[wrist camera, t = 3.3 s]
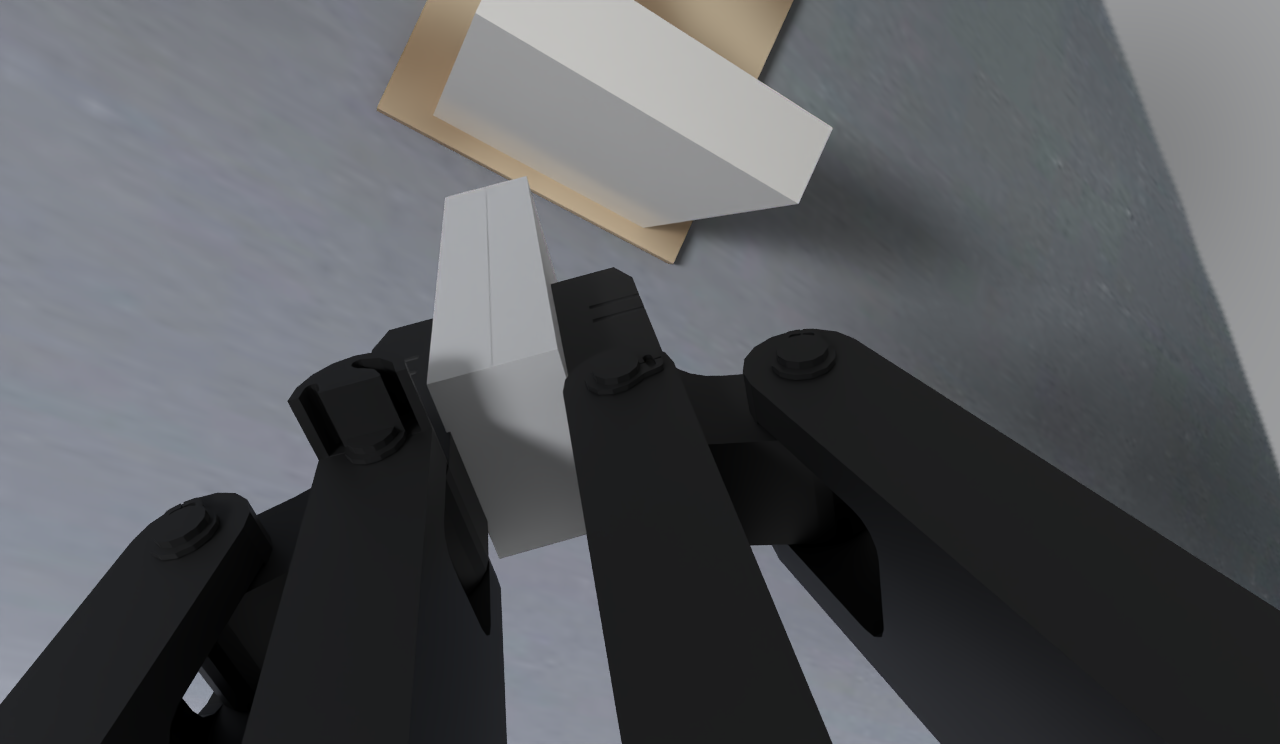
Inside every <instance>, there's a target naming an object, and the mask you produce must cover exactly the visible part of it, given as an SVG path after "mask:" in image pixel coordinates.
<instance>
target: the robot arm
mask: <svg viewBox="0 0 1280 744" xmlns="http://www.w3.org/2000/svg"><path fill="white" fill-rule="evenodd" d="M288 403H289V405H290V407H291V409H292V411H293V413H294V414H295V416H296V418H297V420H298V422H299V424H300V426H301V428H302V429H303V431H304V433H305V435H306V437H307V439H308V441H309V443H310V444H311V446H312V448H313V450H314V452H315V454H316V456H317V458H318V459H319V462H318V465H317V469H316V473H315V476H314V480H313V484H312V487H311V488H310V489H309V490H307V491H305V492H303V493H301V494H299V495H298V496H296V497H294V498H292V499H290V500H288V501H285V502H283V503H281V504H279V505H277V506H275V507H273V508H271V509H269V510H267V511H264V512H262V513H260V514H258V515H256V513H255V512H254V510H253V508H252V507H251V505H250V504H249V502H248V500H247V499H245V498H243V497H242V496H240V495H238V494H236V493H215V494H211V495H207V496H203V497H199V498H194V499H191V500H188V501H185V502H184V504H182V505H181V504H179V505H177V506H175V507H173V508H171V509H169V510H168V511H167V512H166V513H165V514H164V515H162V516H161V517H159V518H158V519H156V520H155V521H153V522H152V523H150V524H149V525H148V526H147V527H146V528H145V529H144V530H143V531H142V532H141V533H140V534H139V535H138V536H137V537H136V538H135V539H134V540H133V541H132V542H131V543H130V544H129V546H128V547H127V548H126V549H125V551H124V552H123V553H122V554H121V555H120V557H119V558H118V559H117V560H116V562H115V563H114V564H113V565H112V567H111V568H110V569H109V570H108V572H107V573H106V574H105V575H104V577H103V578H102V579H101V580H100V581H99V583H98V584H97V585H96V586H95V588H94V589H93V590H92V591H91V593H90V594H89V595H88V596H87V598H86V599H85V600H84V601H83V603H82V604H81V605H80V606H79V608H78V609H77V610H76V611H75V612H74V614H73V615H72V616H71V617H70V619H69V620H68V621H67V622H66V624H65V625H64V626H63V627H62V629H61V630H60V631H59V632H58V634H57V635H56V636H55V637H54V638H53V640H52V641H51V642H50V643H49V645H48V646H47V647H46V648H45V650H44V651H43V652H42V653H41V655H40V656H39V657H38V658H37V660H36V661H35V662H34V663H33V665H32V666H31V667H30V668H29V669H28V671H27V672H26V673H25V674H24V676H23V677H22V678H21V679H20V681H19V682H18V683H17V684H16V686H15V687H14V688H13V689H12V691H11V692H10V693H9V694H8V696H7V697H6V698H5V699H4V700H3V702H2V703H1V704H0V744H507V733H506V708H505V682H504V657H503V632H502V607H501V587H500V584H499V581H498V578H497V575H496V573H495V571H494V568H493V566H492V564H491V561H490V559H489V557H488V533H489V535H490V537H491V540H492V542H493V545H494V547H495V549H496V552H497V554H498V556H499V559H500V558H504V557H508V556H511V555H515V554H518V553H522V552H525V551H529V550H532V549H536V548H540V547H543V546H547V545H550V544H554V543H557V542H561V541H564V540H568V539H571V538H575V537H579V536H582V535H586V534H587V540H588V546H589V552H590V557H591V563H592V569H593V575H594V581H595V587H596V593H597V599H598V605H599V611H600V617H601V623H602V629H603V635H604V640H605V646H606V652H607V658H608V664H609V670H610V676H611V682H612V688H613V694H614V700H615V706H616V712H617V718H618V723H619V729H620V735H621V741H622V744H832V741H831V739H830V737H829V734H828V732H827V729H826V727H825V725H824V722H823V720H822V717H821V715H820V713H819V710H818V708H817V705H816V703H815V701H814V698H813V696H812V693H811V691H810V689H809V686H808V684H807V681H806V679H805V677H804V674H803V672H802V669H801V667H800V665H799V662H798V660H797V657H796V655H795V653H794V650H793V648H792V645H791V643H790V641H789V638H788V636H787V633H786V631H785V629H784V626H783V624H782V621H781V619H780V617H779V614H778V612H777V609H776V607H775V605H774V602H773V600H772V597H771V595H770V592H769V590H768V588H767V585H766V583H765V580H764V578H763V576H762V573H761V571H760V568H759V566H758V564H757V561H756V559H755V556H754V554H753V552H752V549H751V547H750V545H772V546H773V548H774V550H775V552H776V554H777V556H778V558H779V559H780V561H781V562H782V563H783V564H784V565H785V566H786V567H787V569H788V570H789V571H790V572H791V573H792V574H793V575H794V577H795V578H796V579H797V580H798V581H799V582H800V583H801V585H802V586H803V587H804V588H805V589H806V590H807V591H808V593H809V594H810V595H811V596H812V597H813V598H814V599H815V601H816V602H817V603H818V604H819V605H820V606H821V607H822V609H823V610H824V611H825V612H826V613H827V614H828V615H829V617H830V618H831V619H832V620H833V621H834V622H835V623H836V625H837V626H838V627H839V628H840V629H841V630H842V631H843V633H844V634H845V635H846V636H847V637H848V638H849V640H850V641H851V642H852V643H853V644H854V645H855V646H856V648H857V649H858V650H859V651H860V652H861V653H862V654H863V656H864V657H865V658H866V659H867V660H868V661H869V662H870V664H871V665H872V666H873V667H874V668H875V669H876V670H877V672H878V673H879V674H880V675H881V676H882V677H883V678H884V680H885V681H886V682H887V683H888V684H889V685H890V686H891V688H892V689H893V690H894V691H895V692H896V693H897V694H898V696H899V697H900V698H901V699H902V700H903V701H904V702H905V704H906V705H907V706H908V707H909V708H910V709H911V710H912V712H913V713H914V714H915V715H916V716H917V717H918V718H919V720H920V721H921V722H922V723H923V724H924V725H925V726H926V728H927V729H928V730H929V731H930V732H931V733H932V734H933V736H934V737H935V738H936V739H937V740H938V741H939V742H940V744H1280V611H1279V610H1278V609H1276V608H1274V607H1273V606H1271V605H1270V604H1268V603H1267V602H1265V601H1263V600H1262V599H1260V598H1259V597H1257V596H1256V595H1254V594H1253V593H1251V592H1249V591H1248V590H1246V589H1245V588H1243V587H1242V586H1240V585H1238V584H1237V583H1235V582H1234V581H1232V580H1231V579H1229V578H1228V577H1226V576H1224V575H1223V574H1221V573H1220V572H1218V571H1217V570H1215V569H1213V568H1212V567H1210V566H1209V565H1207V564H1206V563H1204V562H1203V561H1201V560H1199V559H1198V558H1196V557H1195V556H1193V555H1192V554H1190V553H1188V552H1187V551H1185V550H1184V549H1182V548H1181V547H1179V546H1178V545H1176V544H1174V543H1173V542H1171V541H1170V540H1168V539H1167V538H1165V537H1163V536H1162V535H1160V534H1159V533H1157V532H1156V531H1154V530H1152V529H1151V528H1149V527H1148V526H1146V525H1145V524H1143V523H1142V522H1140V521H1138V520H1137V519H1135V518H1134V517H1132V516H1131V515H1129V514H1127V513H1126V512H1124V511H1123V510H1121V509H1120V508H1118V507H1117V506H1115V505H1113V504H1112V503H1110V502H1109V501H1107V500H1106V499H1104V498H1102V497H1101V496H1099V495H1098V494H1096V493H1095V492H1093V491H1092V490H1090V489H1088V488H1087V487H1085V486H1084V485H1082V484H1081V483H1079V482H1077V481H1076V480H1074V479H1073V478H1071V477H1070V476H1068V475H1066V474H1065V473H1063V472H1062V471H1060V470H1059V469H1057V468H1056V467H1054V466H1052V465H1051V464H1049V463H1048V462H1046V461H1045V460H1043V459H1041V458H1040V457H1038V456H1037V455H1035V454H1034V453H1032V452H1031V451H1029V450H1027V449H1026V448H1024V447H1023V446H1021V445H1020V444H1018V443H1016V442H1015V441H1013V440H1012V439H1010V438H1009V437H1007V436H1006V435H1004V434H1002V433H1001V432H999V431H998V430H996V429H995V428H993V427H991V426H990V425H988V424H987V423H985V422H984V421H982V420H981V419H979V418H977V417H976V416H974V415H973V414H971V413H970V412H968V411H966V410H965V409H963V408H962V407H960V406H959V405H957V404H955V403H954V402H952V401H951V400H949V399H948V398H946V397H945V396H943V395H941V394H940V393H938V392H937V391H935V390H934V389H932V388H930V387H929V386H927V385H926V384H924V383H923V382H921V381H920V380H918V379H916V378H915V377H913V376H912V375H910V374H909V373H907V372H905V371H904V370H902V369H901V368H899V367H898V366H896V365H895V364H893V363H891V362H890V361H888V360H887V359H885V358H884V357H882V356H880V355H879V354H877V353H876V352H874V351H873V350H871V349H870V348H868V347H866V346H865V345H863V344H862V343H860V342H859V341H857V340H855V339H854V338H851V337H849V336H846V335H844V334H841V333H839V332H836V331H828V330H819V329H803V330H794V331H789V332H787V333H784V334H781V335H777V336H774V337H771V338H769V339H768V340H766V341H764V342H762V343H761V344H759V345H757V346H756V347H754V348H753V350H752V351H751V352H750V353H749V354H748V356H747V357H746V358H745V359H744V367H743V374H740V375H727V376H703V375H696V374H690V373H687V372H685V371H682V370H679V369H677V368H676V367H675V364H674V362H673V361H672V360H671V359H670V357H669V356H668V355H667V354H666V353H665V352H662V349H661V347H660V345H659V342H658V340H657V337H656V335H655V332H654V330H653V327H652V325H651V322H650V320H649V318H648V315H647V313H646V310H645V309H644V305H643V303H642V300H641V298H640V296H639V293H638V291H637V288H636V286H635V283H634V281H633V278H632V277H631V276H629V275H627V274H625V273H623V272H621V271H619V270H618V269H616V268H614V267H613V268H609V269H605V270H602V271H598V272H594V273H590V274H587V275H583V276H579V277H576V278H572V279H568V280H564V281H561V282H557V278H556V275H555V272H554V268H553V265H552V261H551V258H550V255H549V251H548V248H547V244H546V241H545V237H544V234H543V231H542V227H541V224H540V220H539V217H538V214H537V210H536V207H535V203H534V200H533V196H532V193H531V190H530V186H529V183H528V179H527V176H524V177H521V178H517V179H513V180H509V181H505V182H502V183H498V184H494V185H490V186H486V187H483V188H479V189H475V190H471V191H467V192H464V193H460V194H456V195H452V196H448V197H445V206H444V216H443V226H442V236H441V246H440V256H439V266H438V276H437V285H436V295H435V305H434V315H433V319H429V320H425V321H422V322H418V323H414V324H410V325H407V326H403V327H399V328H396V329H392V330H389V331H388V332H387V334H386V335H385V336H384V337H383V338H382V339H381V341H380V342H379V343H378V344H377V345H376V346H375V347H374V349H373V350H372V353H367V354H362V355H356V356H353V357H350V358H347V359H344V360H342V361H339V362H336V363H333V364H331V365H329V366H328V367H326V368H324V369H322V370H320V371H318V372H317V373H315V374H313V375H312V376H310V377H309V378H308V379H307V380H305V381H304V382H303V383H302V384H301V385H299V386H298V387H297V388H296V389H295V391H294V392H293V394H292V395H291V397H290V398H289V400H288ZM198 672H199V673H200V674H201V675H202V677H203V678H204V679H205V681H206V682H207V683H208V685H209V686H210V687H211V688H212V690H213V691H214V692H213V694H212V696H211V698H210V699H209V701H208V703H207V704H206V706H205V707H204V708H203V709H202V710H201V711H200V712H199V714H197V713H195V712H193V711H192V710H191V708H190V707H189V706H188V705H187V703H186V702H185V701H184V700H183V698H182V697H183V696H184V694H185V692H186V691H187V689H188V687H189V686H190V684H191V682H192V681H193V679H194V678H195V676H196V674H197V673H198Z"/></svg>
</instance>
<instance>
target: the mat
mask: <svg viewBox="0 0 1280 744" xmlns="http://www.w3.org/2000/svg"><path fill="white" fill-rule="evenodd" d="M634 1H636V2H637V3H639V4H641V5H642V6H644V7H645V8H647V9H648V10H650V11H651V12H653V13H655V14H656V15H658V16H659V17H661V18H662V19H664V20H666V21H667V22H669V23H670V24H672V25H673V26H675V27H676V28H678V29H680V30H681V31H683V32H684V33H686V34H687V35H689V36H690V37H692V38H694V39H695V40H697V41H698V42H700V43H701V44H703V45H705V46H706V47H708V48H709V49H711V50H712V51H714V52H715V53H717V54H719V55H720V56H722V57H723V58H725V59H726V60H728V61H729V62H731V63H733V64H734V65H736V66H737V67H739V68H740V69H742V70H743V71H745V72H747V73H748V74H750V75H751V76H753V77H754V78H756V79H758V77H759V75H760V73H761V70H762V68H763V66H764V64H765V62H766V59H767V57H768V55H769V53H770V51H771V48H772V46H773V44H774V42H775V40H776V37H777V35H778V33H779V31H780V29H781V26H782V24H783V22H784V20H785V18H786V16H787V13H788V11H789V9H790V7H791V5H792V2H793V0H634ZM480 2H481V0H427V2H426V4H425V6H424V8H423V10H422V13H421V15H420V17H419V19H418V21H417V23H416V25H415V28H414V30H413V32H412V34H411V36H410V38H409V40H408V42H407V45H406V47H405V49H404V51H403V53H402V55H401V57H400V60H399V62H398V64H397V66H396V68H395V70H394V72H393V75H392V77H391V79H390V81H389V83H388V85H387V87H386V89H385V92H384V94H383V96H382V98H381V100H380V102H379V104H378V107H377V111H379V112H380V113H382V114H384V115H386V116H388V117H390V118H392V119H394V120H396V121H398V122H399V123H401V124H403V125H405V126H407V127H409V128H411V129H413V130H415V131H417V132H419V133H420V134H422V135H424V136H426V137H428V138H430V139H432V140H434V141H436V142H438V143H440V144H441V145H443V146H445V147H447V148H449V149H451V150H453V151H455V152H457V153H459V154H460V155H462V156H464V157H466V158H468V159H470V160H472V161H474V162H476V163H478V164H480V165H481V166H483V167H485V168H487V169H489V170H491V171H493V172H495V173H497V174H499V175H500V176H502V177H504V178H506V179H508V180H513V179H517V178H521V177H524V176H527V179H528V183H529V186H530V190H531V192H533V193H535V194H537V195H539V196H540V197H542V198H544V199H546V200H548V201H550V202H552V203H554V204H556V205H558V206H560V207H561V208H563V209H565V210H567V211H569V212H571V213H573V214H575V215H577V216H579V217H581V218H582V219H584V220H586V221H588V222H590V223H592V224H594V225H596V226H598V227H600V228H601V229H603V230H605V231H607V232H609V233H611V234H613V235H615V236H617V237H619V238H621V239H622V240H624V241H626V242H628V243H630V244H632V245H634V246H636V247H638V248H640V249H641V250H643V251H645V252H647V253H649V254H651V255H653V256H655V257H657V258H659V259H661V260H662V261H664V262H666V263H668V264H673V263H674V261H675V259H676V257H677V254H678V252H679V250H680V248H681V246H682V243H683V241H684V239H685V237H686V235H687V233H688V230H689V228H690V226H691V224H692V222H693V220H691V221H684V222H678V223H671V224H665V225H658V226H652V227H646V228H643V227H641V226H639V225H637V224H635V223H633V222H631V221H630V220H628V219H626V218H624V217H622V216H620V215H618V214H616V213H615V212H613V211H611V210H609V209H607V208H605V207H603V206H602V205H600V204H598V203H596V202H594V201H592V200H590V199H588V198H587V197H585V196H583V195H581V194H579V193H577V192H575V191H574V190H572V189H570V188H568V187H566V186H564V185H562V184H560V183H559V182H557V181H555V180H553V179H551V178H549V177H547V176H546V175H544V174H542V173H540V172H538V171H536V170H534V169H532V168H531V167H529V166H527V165H525V164H523V163H521V162H519V161H518V160H516V159H514V158H512V157H510V156H508V155H506V154H504V153H503V152H501V151H499V150H497V149H495V148H493V147H491V146H490V145H488V144H486V143H484V142H482V141H480V140H478V139H476V138H475V137H473V136H471V135H469V134H467V133H465V132H463V131H461V130H460V129H458V128H456V127H454V126H452V125H450V124H448V123H447V122H445V121H443V120H441V119H439V118H437V117H435V116H433V114H434V112H435V109H436V107H437V104H438V102H439V99H440V97H441V95H442V92H443V90H444V87H445V85H446V83H447V80H448V78H449V75H450V73H451V71H452V68H453V66H454V63H455V61H456V58H457V56H458V54H459V51H460V49H461V46H462V44H463V42H464V39H465V37H466V34H467V32H468V29H469V27H470V25H471V22H472V20H473V17H474V15H475V13H476V10H477V8H478V6H479V4H480Z"/></svg>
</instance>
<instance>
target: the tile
mask: <svg viewBox="0 0 1280 744" xmlns="http://www.w3.org/2000/svg"><path fill="white" fill-rule="evenodd" d="M433 116H435V117H437V118H439V119H441V120H443V121H445V122H447V123H448V124H450V125H452V126H454V127H456V128H458V129H460V130H461V131H463V132H465V133H467V134H469V135H471V136H473V137H475V138H476V139H478V140H480V141H482V142H484V143H486V144H488V145H490V146H491V147H493V148H495V149H497V150H499V151H501V152H503V153H504V154H506V155H508V156H510V157H512V158H514V159H516V160H518V161H519V162H521V163H523V164H525V165H527V166H529V167H531V168H532V169H534V170H536V171H538V172H540V173H542V174H544V175H546V176H547V177H549V178H551V179H553V180H555V181H557V182H559V183H560V184H562V185H564V186H566V187H568V188H570V189H572V190H574V191H575V192H577V193H579V194H581V195H583V196H585V197H587V198H588V199H590V200H592V201H594V202H596V203H598V204H600V205H602V206H603V207H605V208H607V209H609V210H611V211H613V212H615V213H616V214H618V215H620V216H622V217H624V218H626V219H628V220H630V221H631V222H633V223H635V224H637V225H639V226H641V227H643V228H646V227H652V226H658V225H665V224H671V223H678V222H684V221H691V220H697V219H704V218H710V217H717V216H723V215H729V214H736V213H742V212H749V211H755V210H762V209H768V208H775V207H781V206H787V205H794V204H799V202H800V199H801V197H802V195H803V193H804V191H805V188H806V186H807V184H808V182H809V180H810V177H811V175H812V173H813V171H814V169H815V166H816V164H817V162H818V160H819V157H820V155H821V153H822V151H823V149H824V146H825V144H826V142H827V140H828V138H829V135H830V133H831V131H832V129H833V128H832V127H831V126H829V125H828V124H826V123H825V122H823V121H821V120H820V119H818V118H817V117H815V116H814V115H812V114H811V113H809V112H807V111H806V110H804V109H803V108H801V107H800V106H798V105H797V104H795V103H793V102H792V101H790V100H789V99H787V98H786V97H784V96H782V95H781V94H779V93H778V92H776V91H775V90H773V89H772V88H770V87H768V86H767V85H765V84H764V83H762V82H761V81H759V80H758V79H756V78H754V77H753V76H751V75H750V74H748V73H747V72H745V71H743V70H742V69H740V68H739V67H737V66H736V65H734V64H733V63H731V62H729V61H728V60H726V59H725V58H723V57H722V56H720V55H719V54H717V53H715V52H714V51H712V50H711V49H709V48H708V47H706V46H705V45H703V44H701V43H700V42H698V41H697V40H695V39H694V38H692V37H690V36H689V35H687V34H686V33H684V32H683V31H681V30H680V29H678V28H676V27H675V26H673V25H672V24H670V23H669V22H667V21H666V20H664V19H662V18H661V17H659V16H658V15H656V14H655V13H653V12H651V11H650V10H648V9H647V8H645V7H644V6H642V5H641V4H639V3H637V2H636V1H634V0H481V2H480V4H479V6H478V8H477V10H476V13H475V15H474V17H473V20H472V22H471V25H470V27H469V29H468V32H467V34H466V37H465V39H464V42H463V44H462V46H461V49H460V51H459V54H458V56H457V58H456V61H455V63H454V66H453V68H452V71H451V73H450V75H449V78H448V80H447V83H446V85H445V87H444V90H443V92H442V95H441V97H440V99H439V102H438V104H437V107H436V109H435V112H434V114H433Z"/></svg>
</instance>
